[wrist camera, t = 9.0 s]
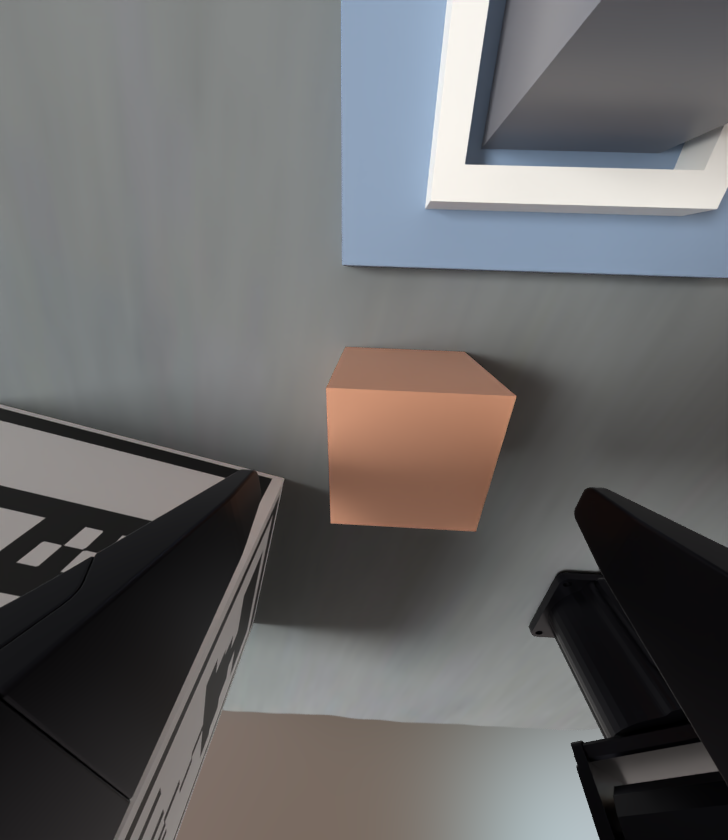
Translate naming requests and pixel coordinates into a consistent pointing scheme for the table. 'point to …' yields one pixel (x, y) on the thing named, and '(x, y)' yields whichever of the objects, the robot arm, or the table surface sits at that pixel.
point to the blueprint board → (501, 165)
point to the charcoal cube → (608, 75)
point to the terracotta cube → (413, 438)
